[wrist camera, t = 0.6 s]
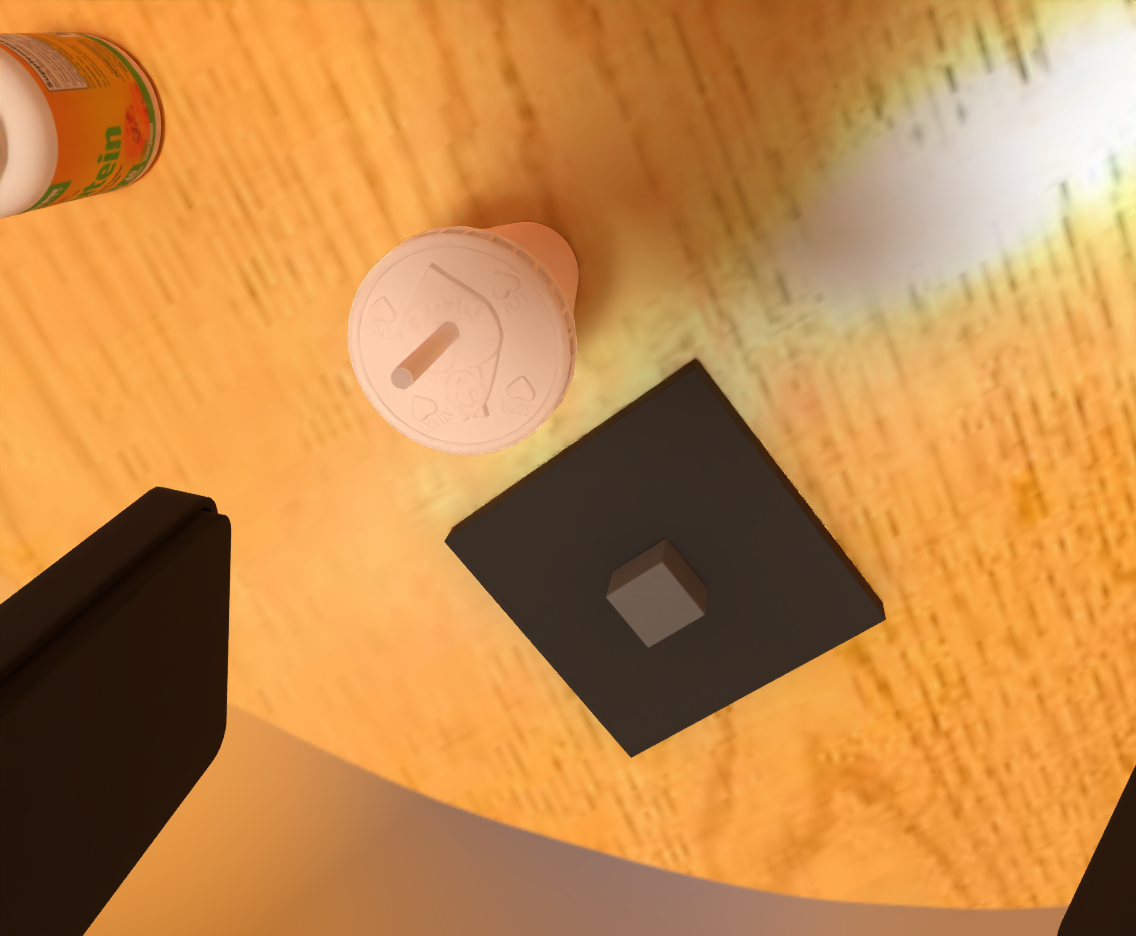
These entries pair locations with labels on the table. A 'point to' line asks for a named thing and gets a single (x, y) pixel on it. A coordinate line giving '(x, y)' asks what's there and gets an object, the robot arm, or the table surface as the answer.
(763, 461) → the base pad
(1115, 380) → the table surface
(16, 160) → the supplement bottle
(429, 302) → the smoothie
